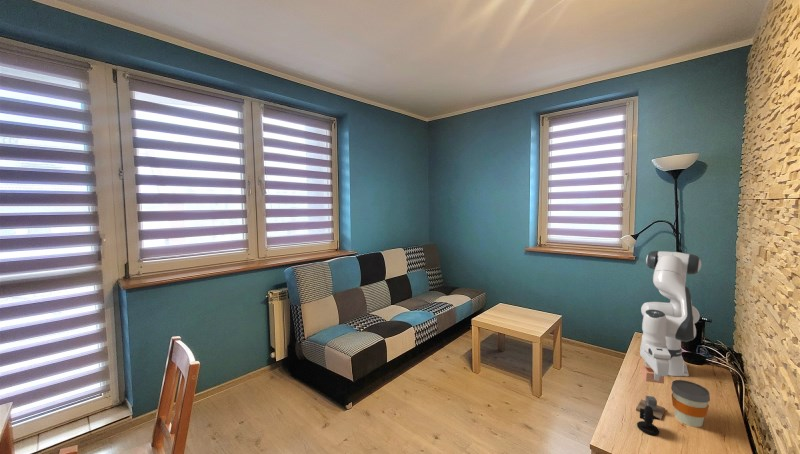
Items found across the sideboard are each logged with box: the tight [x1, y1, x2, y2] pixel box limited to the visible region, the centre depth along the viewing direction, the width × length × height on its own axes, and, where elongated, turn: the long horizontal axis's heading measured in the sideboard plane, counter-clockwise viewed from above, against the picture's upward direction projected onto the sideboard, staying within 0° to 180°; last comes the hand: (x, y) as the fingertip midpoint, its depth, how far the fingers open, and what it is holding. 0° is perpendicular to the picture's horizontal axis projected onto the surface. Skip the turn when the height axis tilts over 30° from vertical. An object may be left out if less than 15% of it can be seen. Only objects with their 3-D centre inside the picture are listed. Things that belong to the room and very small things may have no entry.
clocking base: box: [635, 395, 666, 421], centre depth 146 cm, size 10×9×6 cm
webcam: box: [636, 406, 661, 436], centre depth 134 cm, size 8×8×10 cm
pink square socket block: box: [640, 365, 665, 385], centre depth 145 cm, size 7×7×4 cm
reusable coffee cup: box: [670, 379, 711, 428], centre depth 139 cm, size 13×13×15 cm
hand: (652, 375), depth 145 cm, fingers closed on pink square socket block, 7 cm apart
